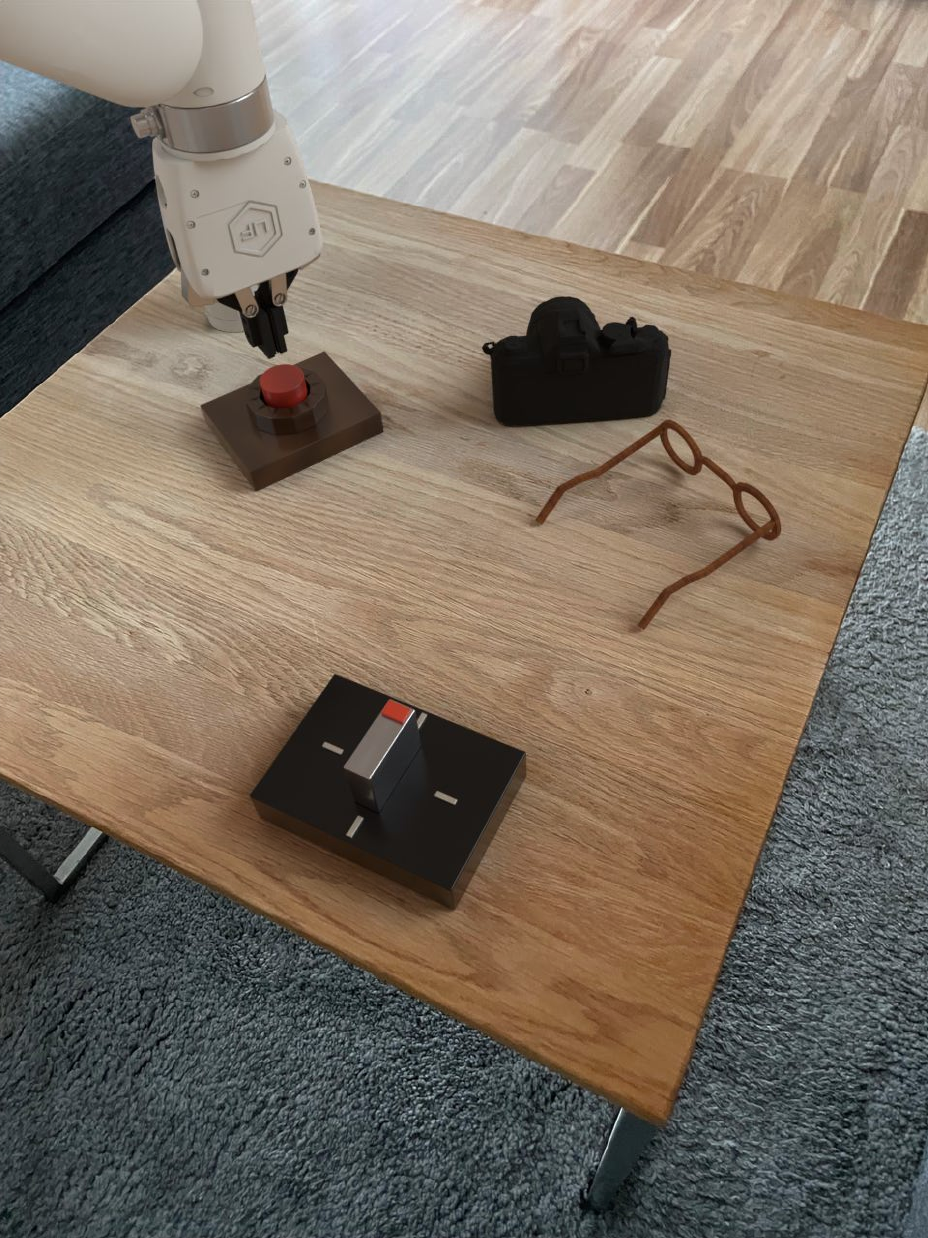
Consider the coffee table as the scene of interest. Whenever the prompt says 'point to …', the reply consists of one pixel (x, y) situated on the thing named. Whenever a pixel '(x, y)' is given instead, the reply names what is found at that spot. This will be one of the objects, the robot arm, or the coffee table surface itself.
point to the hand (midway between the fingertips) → (270, 346)
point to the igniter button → (283, 386)
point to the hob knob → (383, 755)
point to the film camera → (577, 368)
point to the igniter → (292, 423)
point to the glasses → (698, 462)
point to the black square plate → (393, 794)
